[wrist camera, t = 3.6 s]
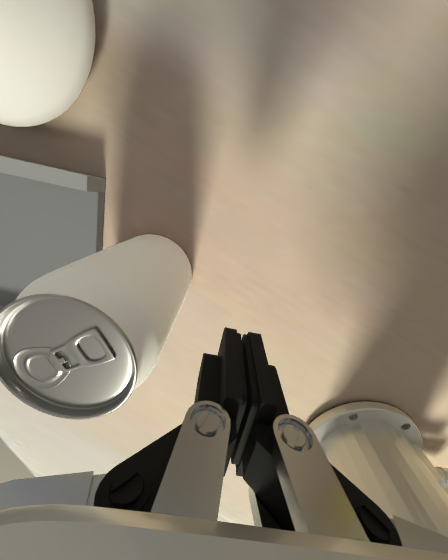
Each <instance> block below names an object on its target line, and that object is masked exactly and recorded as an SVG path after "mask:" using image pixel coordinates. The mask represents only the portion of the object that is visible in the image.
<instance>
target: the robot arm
mask: <svg viewBox="0 0 448 560" xmlns="http://www.w3.org/2000/svg"><path fill="white" fill-rule="evenodd" d="M422 448H423V440H422V436H421V433H420V431H419V429H418V428H417V426H416V425H415V424H414V422H413V421H412V420H411V419H410V418H409V417H408V416H407V415H406V414H405V413H404V412H402V411H401V410H399V409H398V408H396V407H393V406H390V405H388V404H384V403H379V402H364V401H362V402H353V403H348V404H344V405H340V406H337V407H335V408H333V409H330V410H328V411H326V412H325V413H323V414H321V415H320V416H318V417H317V418H316V419H315V420H314V421H312V422H311V423H310V424H309V425H308V424H307V423H306V422H304V421H303V420H301V419H300V418H298V417H296V416H293V415H289V412H288V409H287V405H286V402H285V398H284V395H283V391H282V388H281V384H280V381H279V377H278V374H277V370H276V368H275V366H272V365H268V361H267V357H266V353H265V349H264V345H263V341H262V337H261V334H256V333H251V332H248V334H247V335H245V334H244V335H243V337H242V341H241V334H240V333H237V330H235V329H230V328H224V332H223V336H222V340H221V344H220V348H219V352H218V356H217V355H211V354H206V353H204V354H203V358H202V363H201V367H200V372H199V377H198V383H197V389H196V396H195V402H194V404H193V405H192V406H191V407H190V408H189V409H188V411H187V413H186V415H185V418H184V421H183V423H182V424H181V425H179V426H178V427H176V428H175V429H173V430H172V431H170V432H168V433H167V434H165V435H164V436H162V437H161V438H159V439H158V440H156V441H154V442H153V443H151V444H150V445H148V446H147V447H145V448H143V449H142V450H140V451H139V452H137V453H136V454H134V455H133V456H131V457H129V458H128V459H126V460H125V461H123V462H122V463H120V464H119V465H117V466H115V467H114V468H113V469H112V470H110V471H109V472H108V473H107V474H100V475H93V473H94V471H91V472H81V473H72V474H63V475H54V476H45V477H35V478H26V479H17V480H12V481H9V482H4V483H1V484H0V560H448V468H442V467H434V466H433V465H432V463H431V462H430V461H429V460H428V458H427V457H426V456H425V454H424V453H423V452H422ZM230 458H231V463H232V464H236V476H243V479H244V480H245V481H246V483H247V484H248V485H249V499H250V504H251V509H252V514H253V519H254V524H255V526H250V525H243V524H235V523H228V522H220V521H217V518H218V511H219V504H220V497H221V490H222V483H223V477H224V476H225V473H226V470H227V467H228V464H229V461H230Z"/></svg>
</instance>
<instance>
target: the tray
mask: <svg viewBox="0 0 448 560" xmlns="http://www.w3.org/2000/svg"><path fill="white" fill-rule="evenodd" d="M105 183H106V178H101V177H97V176H92V175H88V174H84V173H79V172H75V171H70V170H66V169H61V168H57V167H52V166H48V165H44V164H39V163H35V162H30V161H26V160H21V159H17V158H13V157H8V156H4V155H0V310H1V309H3V308H4V307H5V306H6V305H8V304H9V303H11V302H13V301H15V300H16V299H17V297H18V296H19V294H20V293H21V292H22V291H23V290H24V289H25V288H26V287H27V286H28V285H29V284H30V283H32V282H33V281H35V280H36V279H38V278H40V277H41V276H43V275H45V274H48V273H50V272H52V271H54V270H56V269H59V268H61V267H63V266H66V265H68V264H70V263H73V262H75V261H77V260H80V259H82V258H85V257H87V256H89V255H92V254H94V253H97V252H99V251H101V250H102V244H103V223H104V203H105Z"/></svg>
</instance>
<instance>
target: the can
mask: <svg viewBox="0 0 448 560" xmlns="http://www.w3.org/2000/svg"><path fill="white" fill-rule="evenodd" d="M191 279H192V270H191V265H190V262H189V260H188V258H187V256H186V254H185V253H184V251H183V250H182V249H181V248H180V247H179V246H178V245H177V244H176V243H174V242H173V241H171V240H170V239H168V238H165V237H163V236H159V235H153V234H146V235H140V236H136V237H134V238H131V239H128V240H126V241H123V242H121V243H118V244H116V245H114V246H111V247H109V248H106V249H104V250H101V251H99V252H97V253H94V254H92V255H89V256H87V257H85V258H82V259H80V260H77V261H75V262H73V263H70V264H68V265H66V266H63V267H61V268H59V269H56V270H54V271H52V272H50V273H48V274H45V275H43V276H41V277H40V278H38V279H36V280H35V281H33V282H32V283H30V284H29V285H28V286H27V287H26V288H25V289H24V290H23V291H22V292H21V293H20V294H19V296H18V297H17V299H16V300H15V301H13V302H11V303H9V304H8V305H6V306H5V307H4V308H3V309H1V310H0V381H1V382H2V383H3V385H4V386H5V387H6V388H7V389H8V390H9V391H10V392H11V393H12V394H13V395H15V396H16V397H17V398H18V399H20V400H21V401H22V402H24V403H25V404H27V405H29V406H31V407H32V408H34V409H36V410H38V411H41V412H43V413H46V414H49V415H52V416H56V417H60V418H66V419H91V418H96V417H100V416H103V415H106V414H108V413H110V412H112V411H114V410H116V409H117V408H119V407H120V406H121V405H122V404H123V403H124V402H125V401H126V400H127V399H128V398H129V397H130V395H131V393H132V392H133V390H134V389H136V388H137V387H138V386H139V385H141V384H142V383H143V382H144V381H145V380H146V379H147V377H148V376H149V375H150V373H151V372H152V370H153V369H154V367H155V365H156V363H157V361H158V359H159V357H160V355H161V352H162V350H163V348H164V346H165V343H166V341H167V339H168V337H169V334H170V332H171V330H172V328H173V325H174V323H175V321H176V318H177V316H178V314H179V311H180V309H181V307H182V304H183V302H184V300H185V297H186V295H187V292H188V290H189V287H190V284H191Z"/></svg>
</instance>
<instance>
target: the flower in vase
mask: <svg viewBox="0 0 448 560" xmlns="http://www.w3.org/2000/svg"><path fill="white" fill-rule="evenodd" d="M94 49H95V17H94V9H93V2H92V0H0V124H3V125H9V126H15V127H29V126H35V125H40V124H43V123H46V122H49V121H51V120H53V119H54V118H56V117H58V116H60V115H61V114H62V113H63V112H65V111H66V110H67V109H68V108H69V107H70V106H71V105H72V104H73V103H74V102H75V100H76V99H77V97H78V96H79V94H80V93H81V91H82V90H83V87H84V85H85V83H86V81H87V79H88V76H89V73H90V70H91V66H92V61H93V56H94Z"/></svg>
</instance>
